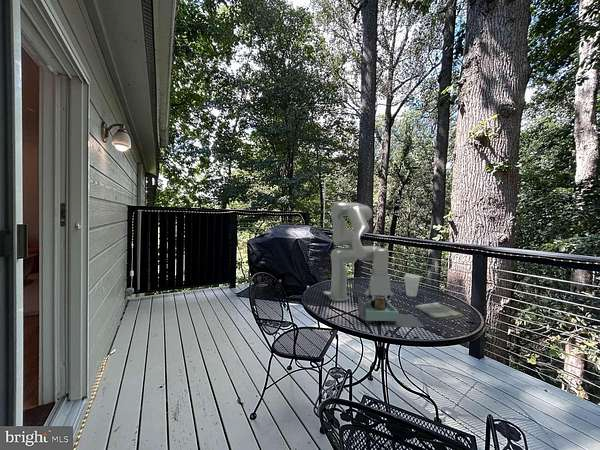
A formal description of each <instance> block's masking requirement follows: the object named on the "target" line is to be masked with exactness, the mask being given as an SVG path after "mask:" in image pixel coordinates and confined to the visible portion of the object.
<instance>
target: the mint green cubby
mask: <svg viewBox="0 0 600 450" xmlns="http://www.w3.org/2000/svg"><path fill="white" fill-rule="evenodd" d="M357 312H358V314H359V316H360V317H361V319H362V320H363V321H364V320H365V321H366V323H367V325H370V324H372V322H373V321H374V322H375V321H378V322H383V321H384V322H385V321H390V322H391V324H393V325H394V324H395V323H396V321H398V316H399V314H400V313H399V310H398V309H396V308H395V307H394V306H393V305H392V304H391V302H387V306H386V309H385V311H382V310H374V308H372V306H371V301H364V300H363V298H362V297H361V296H358V297H357Z"/></svg>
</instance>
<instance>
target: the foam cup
mask: <svg viewBox="0 0 600 450" xmlns="http://www.w3.org/2000/svg"><path fill="white" fill-rule="evenodd" d="M420 280H421V276H420V275H418V274H413V273H407V274H406V273H405V275H404V281H405V284H404V285H405V293H406V296H407V297H414V298H415V297H417V295H418V289H419V285H420Z"/></svg>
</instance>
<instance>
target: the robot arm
mask: <svg viewBox="0 0 600 450" xmlns="http://www.w3.org/2000/svg"><path fill="white" fill-rule="evenodd" d="M330 217H331V220H332V221H331V222H332V240H333V241H332V242H333V244H334V245H335V246H337V247H338V246H339V247H338V248H337V247H336V248H334V249H332V250H331V252H330V260H331V283H330V284H331V285H330V286H331V287H330V289H329V290H328V291H325V290H324V291H323V295H325V296H327V297H329V298H330V299H329V298H328V299H329V300H331V299H332V300H331V301H334V300H335V301H334V302H346V301H348V300H349V298H350V297H349V295H347V287H348V286H347V285H348V269H347V267H346V265H345V264H349V263H350V264H351V263H356V262H357V260H359V261H372V269H369V273H371V274H370V278H369V283H368V288H367V289H366V290H365V291H364V294H365V295H366V297H368V298H369V299H370V302H371V306H372V308H374V307H375V301H374V298H376V297H377V296H378V297H379V296H381V297H382V298H383V299H384V300H385V309H386V306H387V303H388V302H389V301H388V300H389V299H390V298H391V297H392V296H394V294H395V293H394V292H393V290H391V277H390V275H389V274H388V273H389V253H390V252H389V249H387V248H385V247H381V246H378V245H363V244H362V241H361V236H363V235H365V234H366V233H368V231H369V230H370V226H369V223H368V221H369V220H371V219H372V217H373V210H372V209H371V207H370V206H368V205H366V204H364V203H363V204H362V203H359V202H349V201H338V202H334V203H333V204H332V206H331V208H330ZM344 217H348V219H349V221H350V224H351V227H352V229H353V230H348V229H347V226H348V225H347V221H346V219H345V218H344ZM342 246H343V247H342ZM344 246H347V247H344Z"/></svg>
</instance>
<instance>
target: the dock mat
mask: <svg viewBox="0 0 600 450" xmlns="http://www.w3.org/2000/svg"><path fill="white" fill-rule="evenodd" d="M384 323H385V324H386V325H387V327H389V328H426V326H425V325H424V324H423V323H422V322H421V321H419V319H417V318H416V316H414V315H413V314H410V313H409V314H406V313H405V314H402V313H401V314H400V313H399V316H398V321H396V323H395V324H394V325H393V324H391V322H390V321H384Z"/></svg>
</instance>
